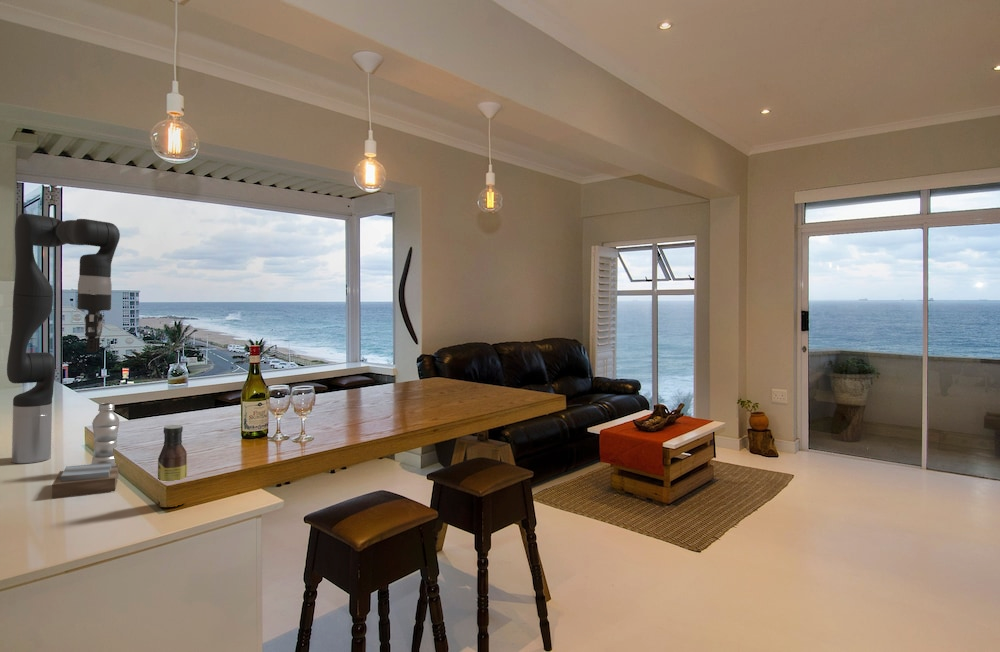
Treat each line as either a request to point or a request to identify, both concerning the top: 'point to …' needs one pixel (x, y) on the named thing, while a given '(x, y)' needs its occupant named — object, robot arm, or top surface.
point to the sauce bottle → (172, 456)
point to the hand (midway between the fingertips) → (93, 351)
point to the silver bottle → (105, 434)
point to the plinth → (85, 480)
